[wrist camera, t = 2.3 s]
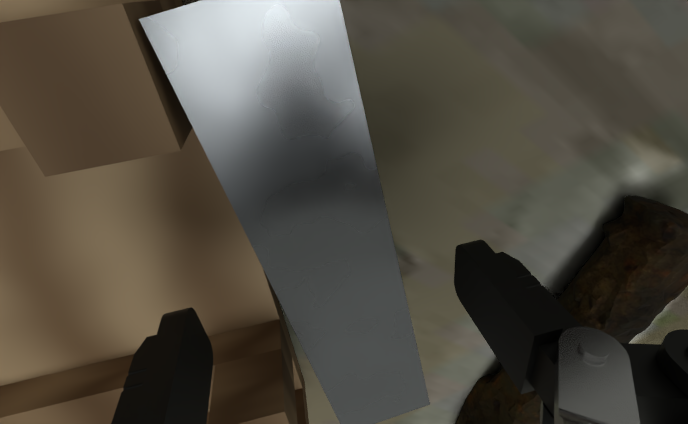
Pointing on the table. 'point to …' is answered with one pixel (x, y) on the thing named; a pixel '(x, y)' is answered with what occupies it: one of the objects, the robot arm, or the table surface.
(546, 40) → the table surface
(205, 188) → the post cradle
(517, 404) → the dark brown bar
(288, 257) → the rail
